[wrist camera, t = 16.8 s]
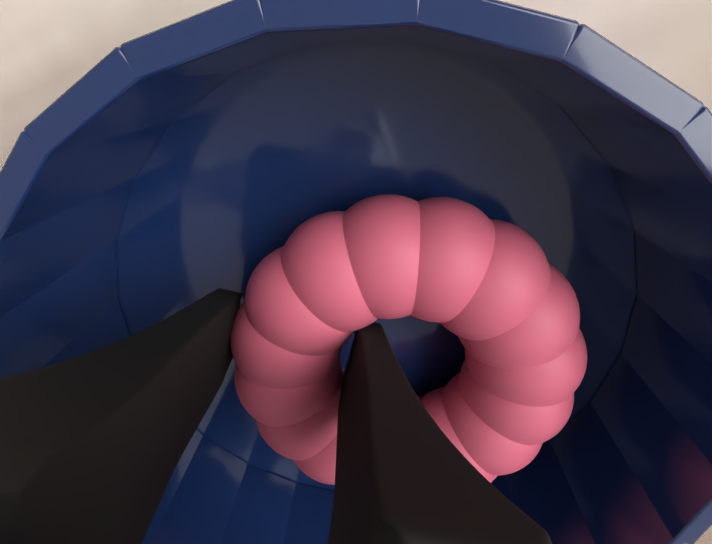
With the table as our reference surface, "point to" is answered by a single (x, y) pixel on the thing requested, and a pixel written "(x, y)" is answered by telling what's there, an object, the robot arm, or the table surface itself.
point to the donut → (421, 300)
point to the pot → (369, 178)
